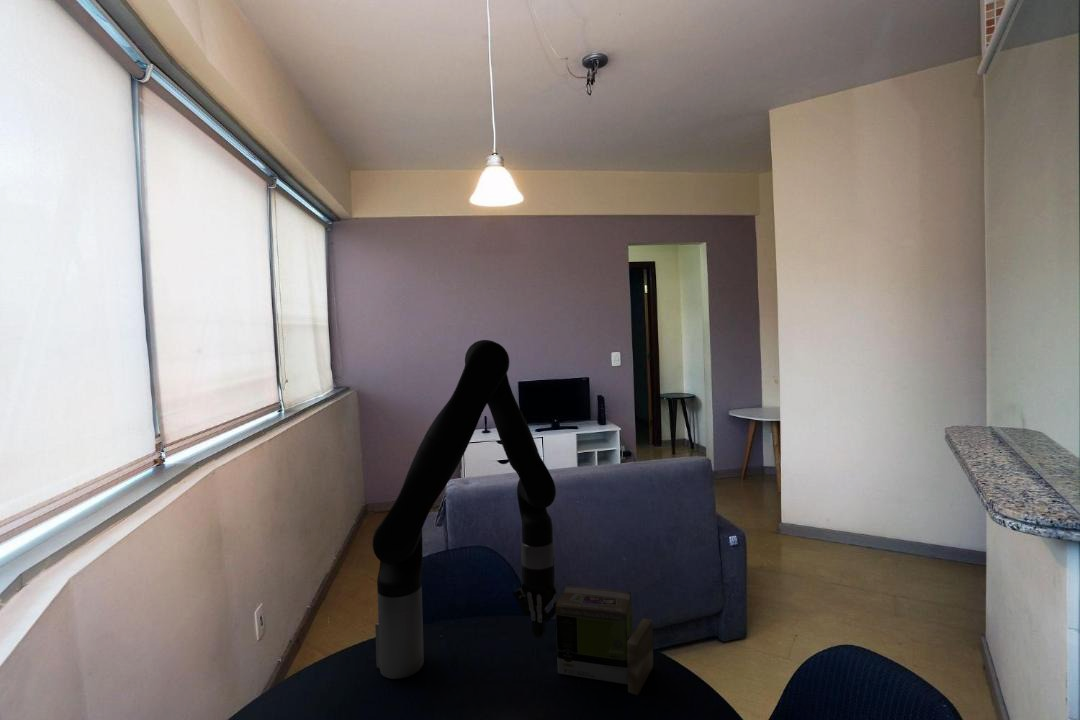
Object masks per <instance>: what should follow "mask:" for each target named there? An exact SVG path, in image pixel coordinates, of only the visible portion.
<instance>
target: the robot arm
mask: <svg viewBox="0 0 1080 720" xmlns="http://www.w3.org/2000/svg"><path fill="white" fill-rule="evenodd" d="M509 367H510V356H509V353H508V352H507V349H505V347H504V346H502V345H501V344H500V343H498V342H495V341H494V340H490V339H482V340H477V341H474V343H472V344H471V345H470V346H469V347H468V349H467V351H466V352H465V357H464V368H463V370H462V373H461V376H460V378H459V380H458V383H457V384H456V387H455V389H454V391H453V393H452V395H451V397H450V398H449V399H448V401H447V402H446V404H445V405H444V406H443V407H442V409H441V410H440V411H439V412H438V414H437V415H436V417H435V418H434V420H433V421H432V423H431V424H430V426H429V427H428V429H427V431H426V433H425V435H424V436H423V439H422V440H421V442H420V445H419V447H418V449H417V450H416V452H415V455H414V457H413V460H412V462H411V464H410V466H409V468H408V472H407V474H406V476H405V478H404V482H403V485H402V486H401V489H400V492H399V494H398V496H397V498H396V499H395V501H394V503H393V504H392V505H391V508H390V509H389V511H388V512H387V514H386V515H385V516H384V518H383V519H382V520H381V522H380V523H379V524H378V525H377V528H376V529H375V530H374V533H373V537H372V550H373V552H374V555H375V557H376V558H377V560H378V561H379V568H378V574H377V578H376V580H377V581H376V587H377V589H376V590H377V612H378V614H377V615H378V617H377V619H378V620H377V622H376V623H375V627H374V628H375V629H374V630H375V654H376V655H375V657H376V668H378V669H379V673H380V675H381V676H383V677H384V678H386V679H390V680H392V679H393V680H399V679H400V680H401V679H405V678H408V677H410V676H413V675H415V674H416V673H418V672H419V671H420V670H421V669H422V668H423V666H424V663H425V662H424V659H425V658H424V627H423V626H424V624H423V623H424V621H423V619H424V618H423V593H422V592H423V589H422V587H423V586H422V575H423V574H422V573H423V565H424V564H423V562H424V561H423V555H424V554H423V547H424V546H423V527H424V525H425V523H426V520H427V518H428V516H429V513H430V512H431V509H432V508H433V506H434V505H435V503H436V501H437V500H438V498H439V497H440V495H441V494H442V493H443V491H444V490H445V488H446V486H447V485H448V484H449V482H450V480H451V478H452V477H453V475H454V473H455V472H456V469H457V468H458V466H459V464H460V462H461V460H462V458H463V457H464V454H465V452H466V451H467V448H468V446H469V445H470V441H471V440H472V438H473V436H474V434H475V431H476V428H477V426H478V424H479V422H480V418H481V416H482V414H483V412H484V410H485V408H486V406H488V409H489V411H490V413H491V416H492V419H493V422H494V425H495V428H496V431H497V434H498V437H499V440H500V442H501V444H502V445H501V446H502V448H503V450H504V453H505V456H506V458H507V461H508V463H509V465H510V466H511V468H512V469H513V471H515V472H516V473H517V476H518V478H519V479H518V480H517V481H518V482H517V487H516V497H517V502H518V509H519V514H520V518H521V519H520V520H521V541H522V542H521V549H520V550H521V552H520V553H521V554H520V557H521V558H520V559H521V581H522V583H521V586H520V587H518V588H517V589H516V590H515V591H513V592H512V595H513V597H514V599H515V601H516V602H517V604H518V606H519V607H520V609H521V611H522V613H523V614H524V616H525V617H529V618H530V619H531V621H532V623H531V624H532V625H531V626H532V629H531V631H532V633H533V634H534V635H533V636H534V637H536V638H540V639H541V638H542V637H543V636H544V635H545V634H546V633H547V623H549V622H550V620H552V619H553V618H554V617H555V616H556V604H557V602H558V601H559V599H560V597H559V596H558V595H557V589H556V587H555V580H556V579H555V577H556V576H555V575H556V573H555V559H556V558H555V548H554V541H553V540H554V535H553V534H554V533H553V528H554V527H553V522H552V521H553V520H552V518H551V516H550V514H549V513H548V511H547V508H548V507H550V506H551V505H552V504H553V503H554V501H555V499H556V495H557V490H556V489H557V487H556V485H555V481H554V479H553V477H552V475H551V472H550V471H549V469H548V467H547V465H546V464H545V462H544V460H543V459H542V457H541V456H540V453H539V449H538V447H537V444H536V441H535V439H534V437H533V435H532V431H531V430H530V427H529V425H528V423H527V420H526V418H525V417H524V416H525V415H524V414H523V412H522V410H521V409H520V407H519V404H518V402H517V401H516V398H515V396H514V393H513V390H512V386H511V384H510V381H509V376H508V372H509ZM550 603H551V607H552V608H551V609H550V610H548V609H549V604H550Z"/></svg>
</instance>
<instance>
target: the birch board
mask: <svg viewBox="0 0 1080 720" xmlns="http://www.w3.org/2000/svg"><path fill="white" fill-rule="evenodd" d="M653 639H654V638H653V620H652V619H647V618H642V619H641V620H640V622H639V624H638V625H637V626H636V628H635V629H634V631H633V634H632V635H631V637H630V638H629V640H628V641H627V672H628V685H627V692H628V693H629V694H631V695H634V696H639V694H640V692H641V690H642V689H643V686H644V685H645V683H646V681H647V679H648V677H649V675H650V673H651V672H652V670H653V668H654V646H653V645H654V644H653V643H654V641H653Z"/></svg>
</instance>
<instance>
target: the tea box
mask: <svg viewBox="0 0 1080 720" xmlns="http://www.w3.org/2000/svg"><path fill="white" fill-rule="evenodd" d="M559 598H560V599H559V601H558V602H557V604H556V614H555V626H556V627H555V629H556V632H555V633H556V635H555V636H556V657H557V658H556V660H557V674H561V675H565V676H572V677H579V678H585V679H590V680H591V679H592V680H598V681H603V682H611V683H615V684H622V685H627V686H628V672H627V641H628V640H629V638H630V637H631V635H632V634H633V632H634V631H633V628H634V626H633V603H632V592H631V591H625V590H614V589H612V590H611V589H603V588H593V587H583V586H571V585H566V586H565V587H564V589H563V591H562V593H561V595H560V597H559Z"/></svg>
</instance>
